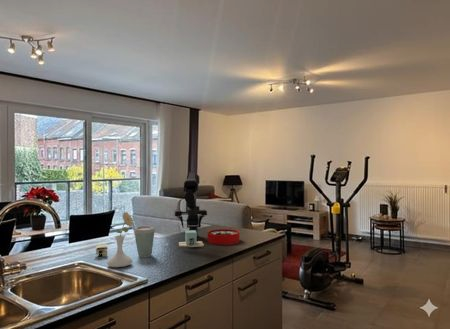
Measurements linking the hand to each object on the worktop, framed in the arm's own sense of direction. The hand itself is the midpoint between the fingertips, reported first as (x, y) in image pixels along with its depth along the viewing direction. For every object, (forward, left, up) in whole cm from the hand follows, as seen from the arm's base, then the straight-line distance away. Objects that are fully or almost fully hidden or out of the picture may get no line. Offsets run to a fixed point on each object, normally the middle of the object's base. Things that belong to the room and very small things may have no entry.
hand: (190, 227), depth 200 cm
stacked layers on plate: (+14, -48, -11) cm, 51 cm away
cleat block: (0, 0, -9) cm, 9 cm away
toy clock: (-8, +21, -11) cm, 25 cm away
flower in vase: (+35, -36, -11) cm, 51 cm away
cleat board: (0, 0, -10) cm, 10 cm away
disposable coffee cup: (+20, -26, -11) cm, 34 cm away
